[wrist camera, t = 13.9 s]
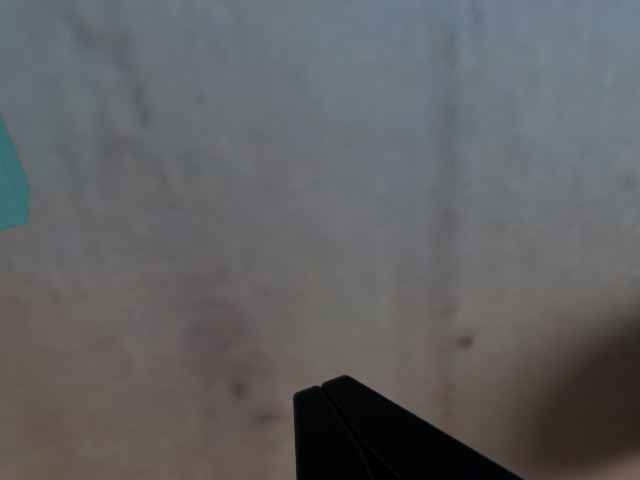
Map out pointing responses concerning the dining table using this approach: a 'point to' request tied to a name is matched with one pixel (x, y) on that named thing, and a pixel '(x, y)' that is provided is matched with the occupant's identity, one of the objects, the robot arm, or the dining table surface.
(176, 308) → the dining table surface
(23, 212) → the teal block holder tray
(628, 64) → the dining table surface
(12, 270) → the dining table surface
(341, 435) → the robot arm
